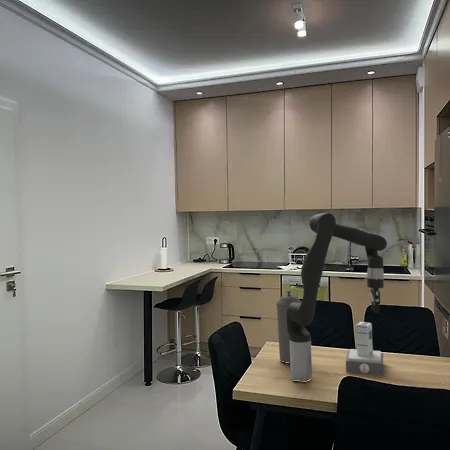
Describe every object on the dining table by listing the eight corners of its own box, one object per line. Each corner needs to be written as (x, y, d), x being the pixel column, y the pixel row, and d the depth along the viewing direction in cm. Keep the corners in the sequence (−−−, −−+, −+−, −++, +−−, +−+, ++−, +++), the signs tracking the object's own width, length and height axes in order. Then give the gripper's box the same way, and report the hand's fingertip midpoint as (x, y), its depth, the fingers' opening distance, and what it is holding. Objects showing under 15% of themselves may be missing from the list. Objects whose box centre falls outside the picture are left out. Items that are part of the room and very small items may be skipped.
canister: (273, 359, 212) (271, 290, 212) (294, 355, 217) (292, 287, 217) (287, 367, 200) (284, 293, 200) (309, 362, 206) (306, 291, 205)
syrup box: (369, 357, 192) (368, 325, 192) (356, 355, 195) (355, 323, 195) (373, 353, 197) (372, 322, 196) (360, 351, 200) (359, 321, 200)
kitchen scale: (383, 376, 185) (383, 362, 185) (345, 372, 190) (345, 359, 190) (383, 363, 201) (382, 350, 201) (348, 360, 206) (348, 348, 206)
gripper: (365, 276, 210) (365, 309, 209) (368, 278, 196) (368, 313, 195) (381, 277, 208) (381, 310, 207) (386, 279, 194) (385, 314, 193)
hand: (375, 311), depth 201 cm, fingers open, 8 cm apart
